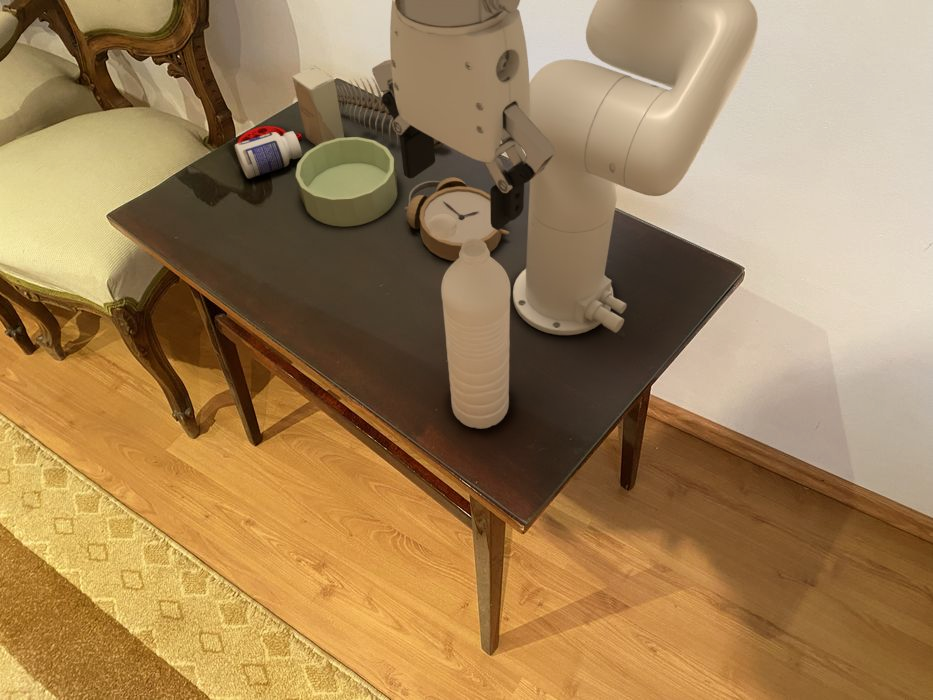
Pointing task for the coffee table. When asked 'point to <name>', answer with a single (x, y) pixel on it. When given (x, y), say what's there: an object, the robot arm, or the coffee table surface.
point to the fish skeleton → (369, 106)
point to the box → (318, 105)
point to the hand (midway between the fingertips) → (462, 194)
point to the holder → (347, 181)
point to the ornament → (257, 133)
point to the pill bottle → (267, 153)
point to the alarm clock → (460, 204)
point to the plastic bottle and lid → (475, 330)
